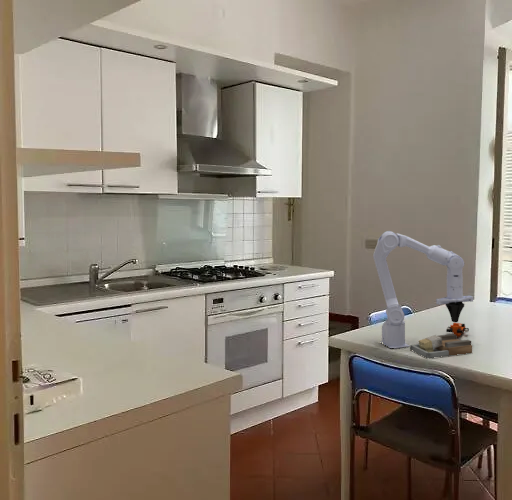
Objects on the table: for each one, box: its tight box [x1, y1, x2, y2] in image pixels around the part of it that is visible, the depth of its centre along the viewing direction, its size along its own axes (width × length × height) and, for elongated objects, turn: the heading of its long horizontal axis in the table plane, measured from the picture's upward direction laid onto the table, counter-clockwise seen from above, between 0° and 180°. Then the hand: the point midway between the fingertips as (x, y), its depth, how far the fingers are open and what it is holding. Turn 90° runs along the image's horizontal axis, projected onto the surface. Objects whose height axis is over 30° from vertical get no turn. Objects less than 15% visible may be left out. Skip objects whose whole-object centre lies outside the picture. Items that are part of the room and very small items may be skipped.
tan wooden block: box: [418, 337, 433, 352], centre depth 203 cm, size 4×4×3 cm
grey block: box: [426, 334, 443, 348], centre depth 204 cm, size 4×4×3 cm
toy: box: [445, 322, 470, 337], centre depth 226 cm, size 8×6×15 cm
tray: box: [409, 343, 450, 359], centre depth 204 cm, size 12×8×2 cm
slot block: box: [435, 333, 473, 356], centre depth 206 cm, size 12×10×4 cm
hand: (454, 321), depth 211 cm, fingers closed
